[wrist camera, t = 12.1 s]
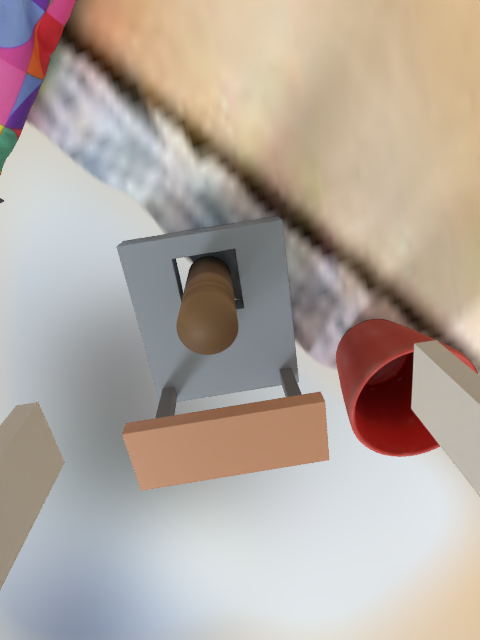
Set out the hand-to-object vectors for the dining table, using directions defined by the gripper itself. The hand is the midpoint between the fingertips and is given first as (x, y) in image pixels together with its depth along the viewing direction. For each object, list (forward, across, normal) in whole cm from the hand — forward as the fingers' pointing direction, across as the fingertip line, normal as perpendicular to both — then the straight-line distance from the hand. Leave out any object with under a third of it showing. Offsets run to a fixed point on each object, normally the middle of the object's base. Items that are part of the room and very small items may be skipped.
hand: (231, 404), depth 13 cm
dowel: (+23, -2, -2) cm, 23 cm away
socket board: (+23, -2, -6) cm, 24 cm away
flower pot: (+23, +14, -13) cm, 30 cm away
